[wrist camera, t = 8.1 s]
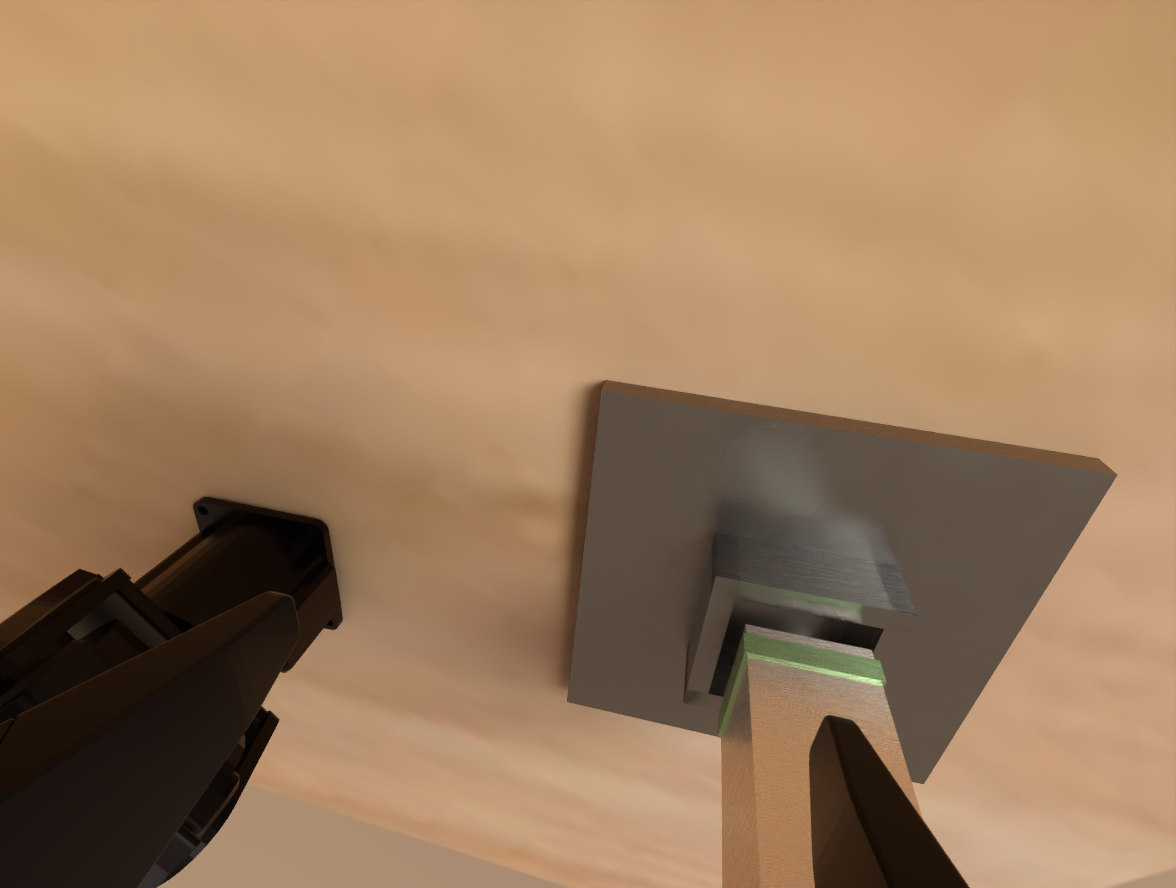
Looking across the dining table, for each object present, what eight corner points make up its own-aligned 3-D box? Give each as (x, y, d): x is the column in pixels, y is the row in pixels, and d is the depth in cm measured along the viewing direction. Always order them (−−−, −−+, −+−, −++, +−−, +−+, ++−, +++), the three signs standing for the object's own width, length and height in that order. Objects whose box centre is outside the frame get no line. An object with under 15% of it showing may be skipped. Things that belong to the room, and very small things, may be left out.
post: (717, 704, 21) (718, 1038, 13) (742, 621, 19) (761, 957, 11) (837, 731, 21) (910, 1095, 13) (876, 648, 19) (990, 1020, 11)
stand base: (571, 684, 28) (554, 750, 25) (606, 380, 21) (586, 423, 18) (916, 762, 26) (942, 844, 23) (1098, 458, 19) (1173, 522, 16)
